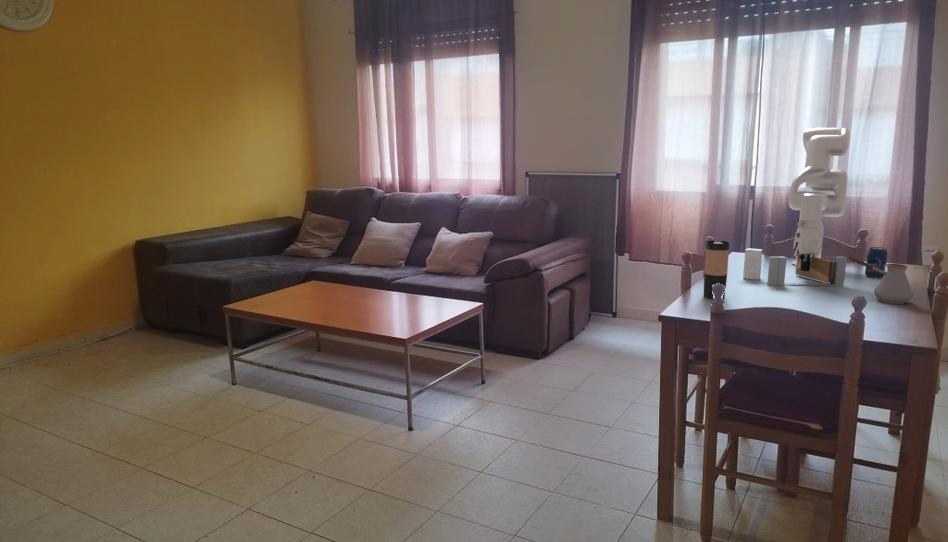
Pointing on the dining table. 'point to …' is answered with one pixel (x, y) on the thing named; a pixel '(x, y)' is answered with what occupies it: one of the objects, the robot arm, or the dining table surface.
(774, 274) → the doorframe
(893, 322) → the dining table surface
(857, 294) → the dining table surface
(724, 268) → the travel mug
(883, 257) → the soda can
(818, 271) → the door
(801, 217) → the robot arm
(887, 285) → the coffee pot
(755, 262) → the skincare box
